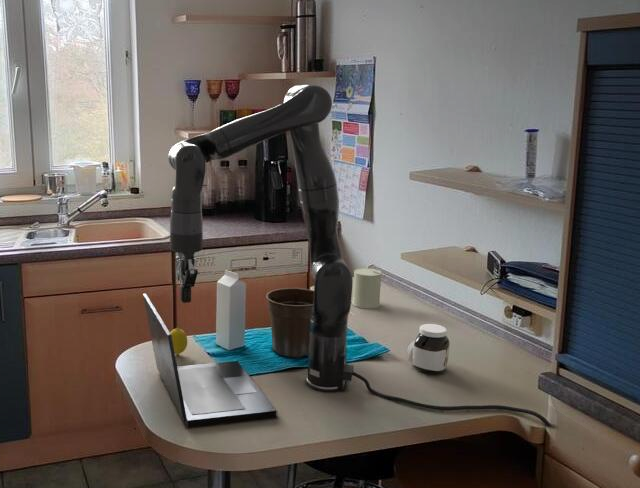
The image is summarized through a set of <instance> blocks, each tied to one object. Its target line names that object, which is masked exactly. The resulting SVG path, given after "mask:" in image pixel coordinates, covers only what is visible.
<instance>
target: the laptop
mask: <svg viewBox="0 0 640 488" xmlns="http://www.w3.org/2000/svg"><path fill="white" fill-rule="evenodd" d="M177 369H178V374H179V379H180V385H181V390H182V396H183V401H184V407H185V412H186V417H187V421H183V422H184V424H185V426H186V427H187V429H191V428H200V427H206V426H207V427H208V426H216V425H217V426H218V425H226V424H234V423H243V422H252V421H261V420H268V419H277V412H278V411H277V408H275V407H274V405H273V404H272V403H271V401H269V399H268V398H267V396H266V395H265V394H264V393H263V391H262V390H261V389H260V387H258V385H257V383H256V382H255V381H254V380H253V379H252V378H251V376H250V375H249V373H247V371H246V370H245V369H244V367H243V366H242V365H241V363H240V362H239V361H238V360H232V361H221V362H211V363H209V362H208V363H199V364H190V365H179V366H178V365H177Z"/></svg>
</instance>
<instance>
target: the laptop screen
mask: <svg viewBox="0 0 640 488" xmlns="http://www.w3.org/2000/svg"><path fill="white" fill-rule="evenodd" d="M142 297H143V302H144V307H145V313H146V318H147V324H148V329H149V333H150V339H151V343H152V349H153V353H154V354H153V355H154V359H155V364H156V369H157V371H158V374H159V375H160V377H161V379H162V381H163V383H164V385H165V387H166V389H167V391H168V393H169V395H170V397H171V399H172V401H173V403H174V405H175V407H176V409H177V411H178V413H179V415H180V417H181V420H182V421H183V422H184V421H187V417H186V412H185V407H184V401H183V396H182V390H181V385H180V379H179V374H178V369H177V366H178V363H177V359H176V354H175V352H174V347H173V341H172V336H171V333H170V332H171V331H170V330H169V329H168V327H167V325H166V324H165V322H164V320H163V319H162V316H160V314H159V312H158V310H157V309H156V308H155V306H154V304H153V303H152V301H151V300H150V298H149V296H148V294H147V293H146V292H145V293H143V294H142Z"/></svg>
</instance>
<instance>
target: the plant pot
mask: <svg viewBox="0 0 640 488" xmlns="http://www.w3.org/2000/svg"><path fill="white" fill-rule="evenodd" d="M265 299H266V300H267V306H268V311H269V317H270V318H269V319H270V331H271V343H272V352H276V354H277V355H279V356H282V357H285V358H302V357H303V356H306V357H308V356H309V334H310V313H311V308H312V307H313V301H314V289H308V288H302V287H301V288H300V287H285V288H283V287H282V288H277V289H274V290H271V291H269V292H267V293H266V295H265Z"/></svg>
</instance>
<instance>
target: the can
mask: <svg viewBox="0 0 640 488" xmlns="http://www.w3.org/2000/svg"><path fill="white" fill-rule="evenodd" d="M382 274H383V272H382V271H381V270H379V269H375V268H369V267H368V268H366V267H363V268H362V267H361V268H356V269H354V270H353V288H352V300H351V305H353V307H356V308H359V309H365V310H369V309H370V310H371V309H377V308H379V307H380V306H381V304H380V301H381V287H382Z"/></svg>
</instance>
